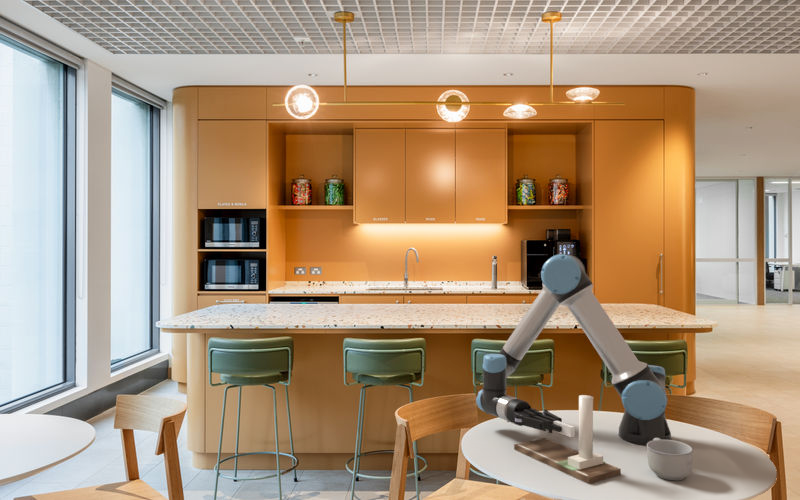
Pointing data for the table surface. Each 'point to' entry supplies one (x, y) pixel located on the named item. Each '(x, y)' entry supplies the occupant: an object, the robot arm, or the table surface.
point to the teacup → (669, 458)
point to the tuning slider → (585, 437)
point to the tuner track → (565, 460)
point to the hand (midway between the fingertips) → (572, 432)
